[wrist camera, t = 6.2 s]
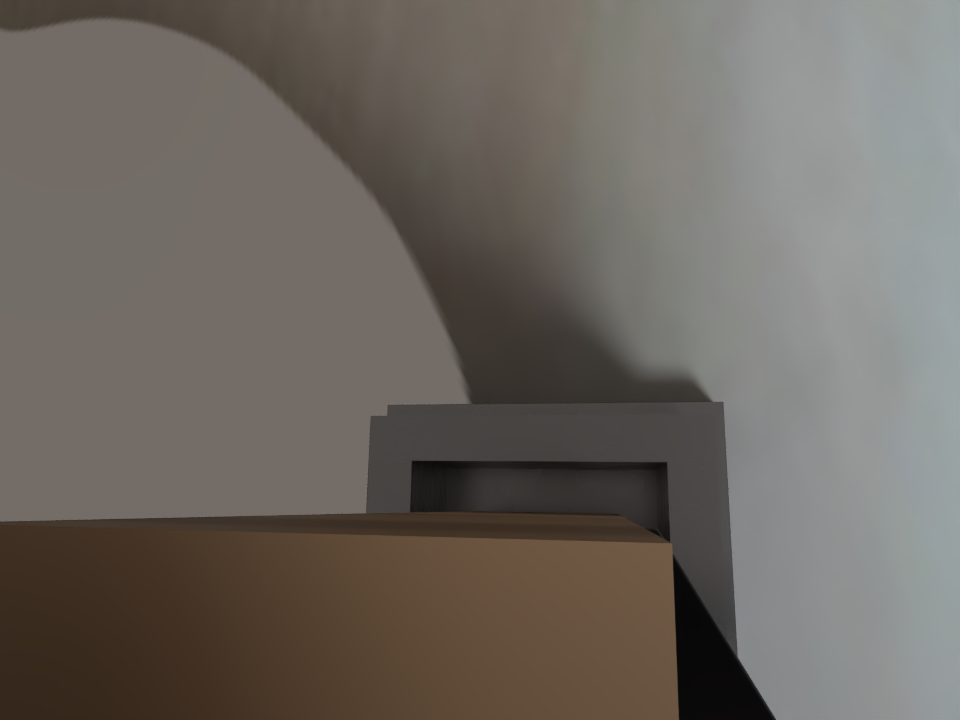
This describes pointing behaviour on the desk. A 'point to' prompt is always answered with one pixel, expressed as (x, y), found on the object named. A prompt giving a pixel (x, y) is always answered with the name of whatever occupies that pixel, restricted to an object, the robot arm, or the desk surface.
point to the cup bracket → (570, 472)
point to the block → (338, 618)
